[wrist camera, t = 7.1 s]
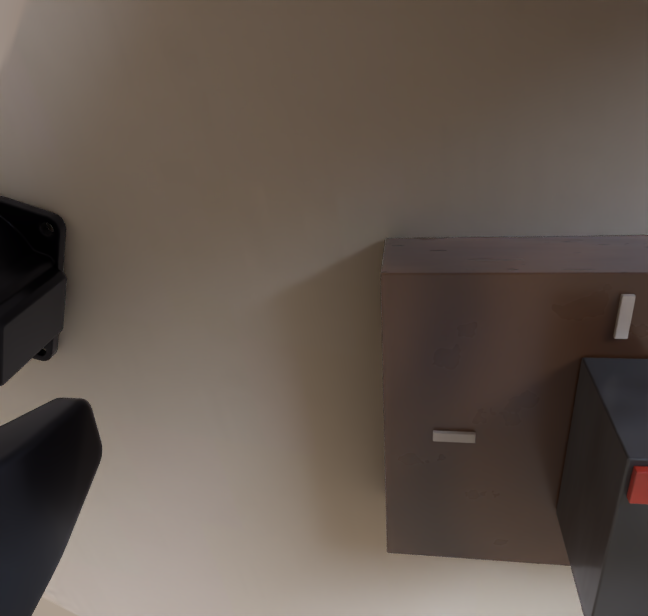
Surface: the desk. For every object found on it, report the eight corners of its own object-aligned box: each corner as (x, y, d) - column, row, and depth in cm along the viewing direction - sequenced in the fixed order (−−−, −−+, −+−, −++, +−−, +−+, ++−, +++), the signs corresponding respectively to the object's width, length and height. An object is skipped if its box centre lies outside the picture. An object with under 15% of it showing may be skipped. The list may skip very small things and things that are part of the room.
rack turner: (615, 516, 20) (666, 648, 16) (555, 512, 21) (589, 640, 17) (652, 358, 17) (725, 470, 13) (581, 356, 18) (631, 465, 14)
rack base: (390, 496, 26) (386, 557, 23) (385, 237, 20) (380, 275, 17) (742, 516, 23) (785, 585, 21) (844, 232, 18) (922, 274, 15)
